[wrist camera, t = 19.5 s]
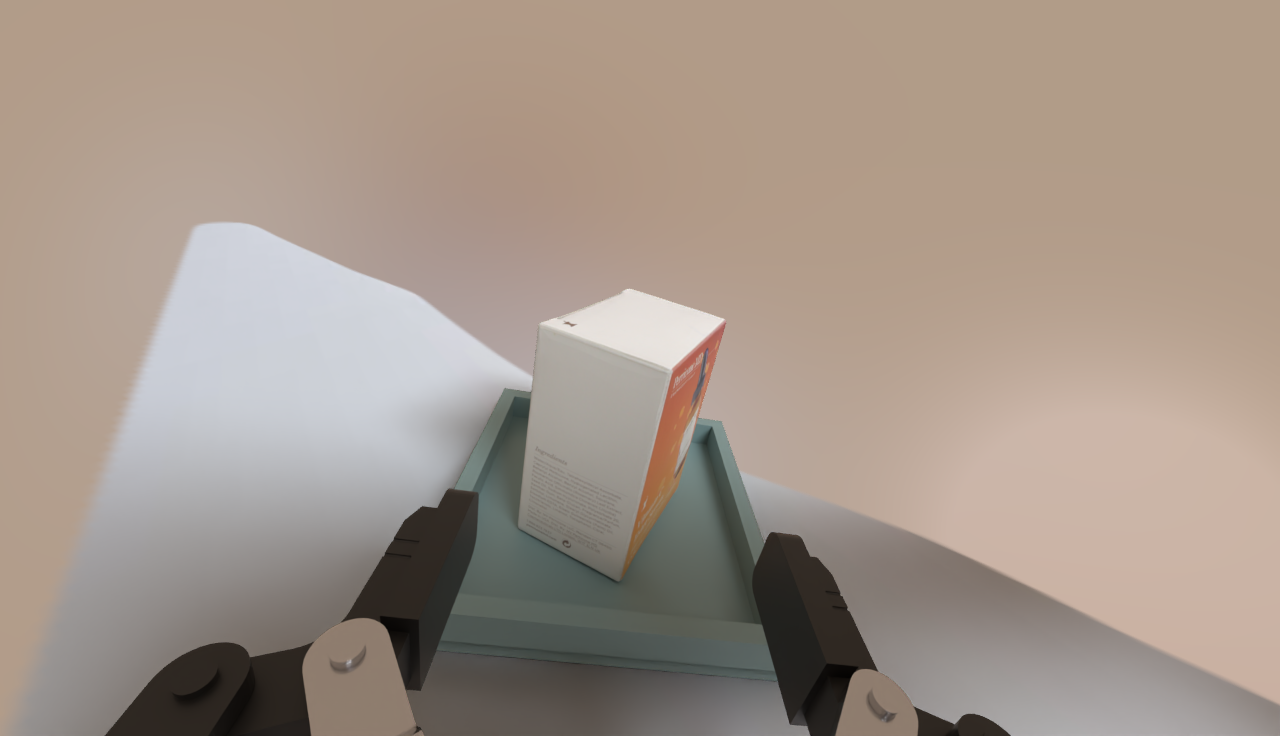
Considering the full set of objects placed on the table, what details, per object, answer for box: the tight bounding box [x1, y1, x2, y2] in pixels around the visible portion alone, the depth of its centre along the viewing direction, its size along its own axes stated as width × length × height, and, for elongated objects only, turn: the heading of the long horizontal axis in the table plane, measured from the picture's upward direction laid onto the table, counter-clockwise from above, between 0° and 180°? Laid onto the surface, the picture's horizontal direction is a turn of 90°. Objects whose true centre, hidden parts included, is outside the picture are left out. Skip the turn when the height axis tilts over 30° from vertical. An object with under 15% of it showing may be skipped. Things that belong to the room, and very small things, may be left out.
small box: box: [518, 289, 726, 582], centre depth 21 cm, size 8×6×10 cm
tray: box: [436, 388, 778, 681], centre depth 24 cm, size 15×16×2 cm
